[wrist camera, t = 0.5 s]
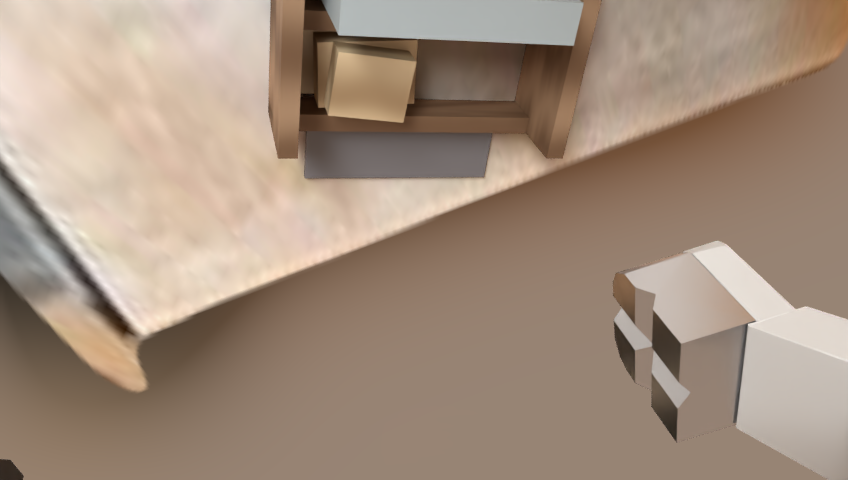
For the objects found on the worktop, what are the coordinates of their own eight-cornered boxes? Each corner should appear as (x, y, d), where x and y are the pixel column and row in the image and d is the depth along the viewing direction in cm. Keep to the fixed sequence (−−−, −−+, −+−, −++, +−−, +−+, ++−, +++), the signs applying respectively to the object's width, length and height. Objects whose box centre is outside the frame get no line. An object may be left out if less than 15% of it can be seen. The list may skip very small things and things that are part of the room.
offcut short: (333, 40, 48) (338, 51, 47) (408, 50, 50) (416, 61, 48) (323, 102, 50) (328, 115, 49) (396, 110, 52) (403, 122, 50)
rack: (272, -89, 46) (284, -63, 41) (564, -64, 52) (610, -37, 46) (268, 112, 53) (278, 158, 48) (526, 116, 59) (562, 158, 53)
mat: (306, 126, 55) (307, 128, 54) (490, 127, 58) (492, 130, 58) (304, 175, 57) (304, 178, 56) (482, 174, 61) (483, 176, 60)
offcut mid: (313, 32, 50) (317, 42, 48) (410, 29, 51) (417, 40, 50) (314, 95, 52) (318, 107, 50) (407, 91, 54) (413, 103, 52)
